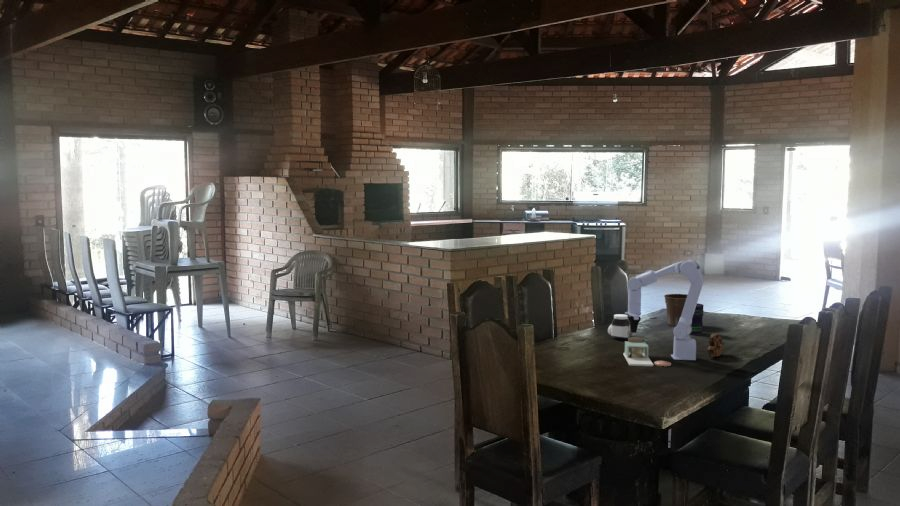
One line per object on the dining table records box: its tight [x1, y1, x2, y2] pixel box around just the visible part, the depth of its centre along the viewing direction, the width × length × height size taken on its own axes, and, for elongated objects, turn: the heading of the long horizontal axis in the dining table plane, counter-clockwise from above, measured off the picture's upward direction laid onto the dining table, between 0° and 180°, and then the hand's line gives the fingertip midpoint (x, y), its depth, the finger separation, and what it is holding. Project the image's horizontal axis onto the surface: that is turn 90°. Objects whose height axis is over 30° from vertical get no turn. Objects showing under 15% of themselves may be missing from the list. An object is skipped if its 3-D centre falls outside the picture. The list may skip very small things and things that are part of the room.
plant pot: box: [663, 293, 688, 328], centre depth 398 cm, size 16×16×16 cm
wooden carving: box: [706, 333, 725, 358], centre depth 329 cm, size 16×5×10 cm, turn 148°
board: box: [623, 352, 654, 367], centre depth 322 cm, size 10×20×1 cm, turn 174°
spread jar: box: [607, 313, 631, 341], centre depth 367 cm, size 12×11×12 cm
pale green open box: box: [624, 337, 649, 358], centre depth 327 cm, size 9×9×7 cm
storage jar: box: [684, 302, 705, 336], centre depth 378 cm, size 10×10×15 cm
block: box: [629, 347, 643, 358], centre depth 327 cm, size 4×4×5 cm
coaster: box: [653, 360, 672, 367], centre depth 315 cm, size 7×7×1 cm
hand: (633, 332), depth 336 cm, fingers closed
